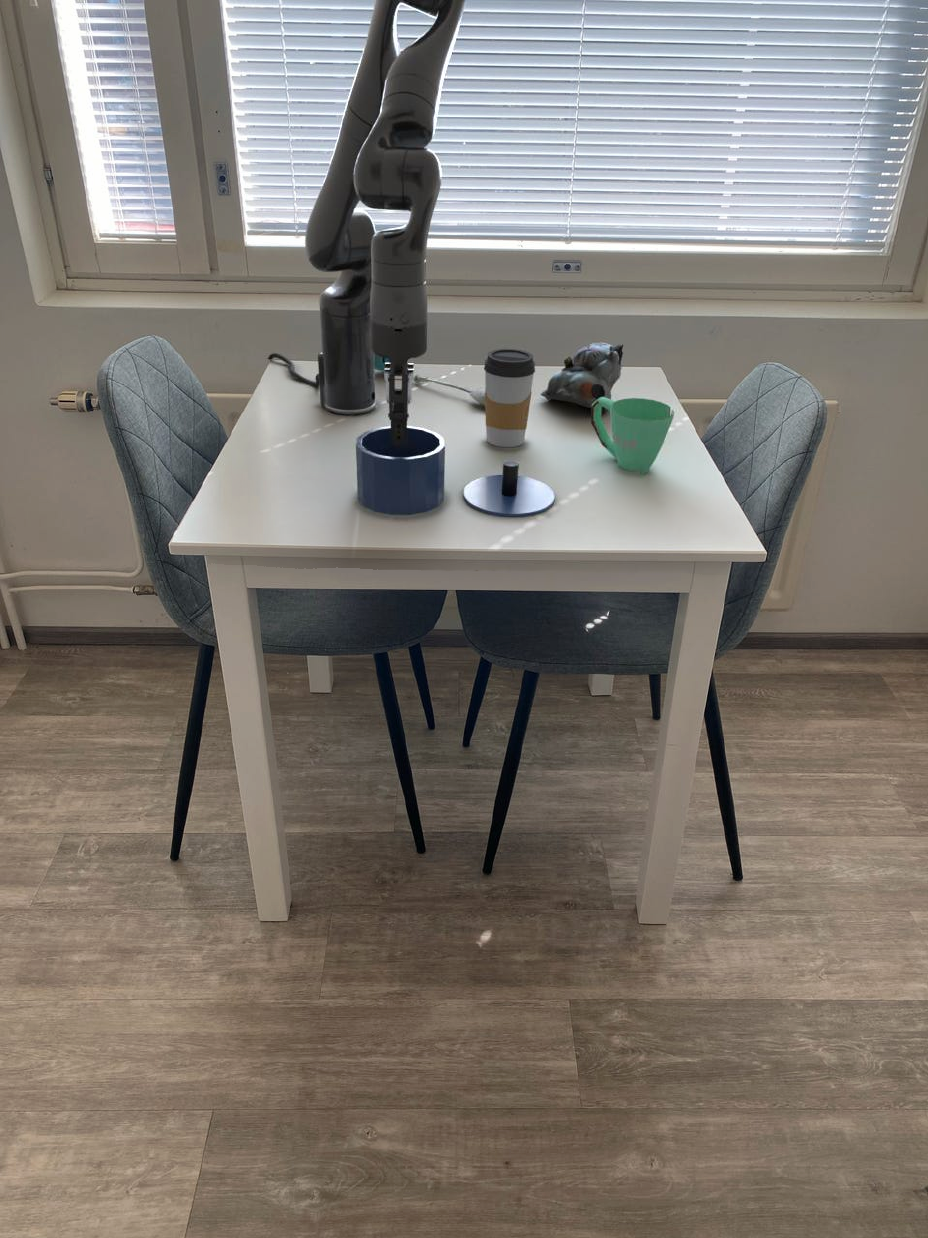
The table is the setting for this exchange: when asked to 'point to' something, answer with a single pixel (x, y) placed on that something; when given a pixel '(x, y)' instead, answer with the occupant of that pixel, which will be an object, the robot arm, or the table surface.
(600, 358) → the lucky cat figurine
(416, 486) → the tin
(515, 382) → the coffee cup
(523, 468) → the table surface
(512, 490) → the tin lid
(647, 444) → the mug
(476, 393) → the soupspoon
